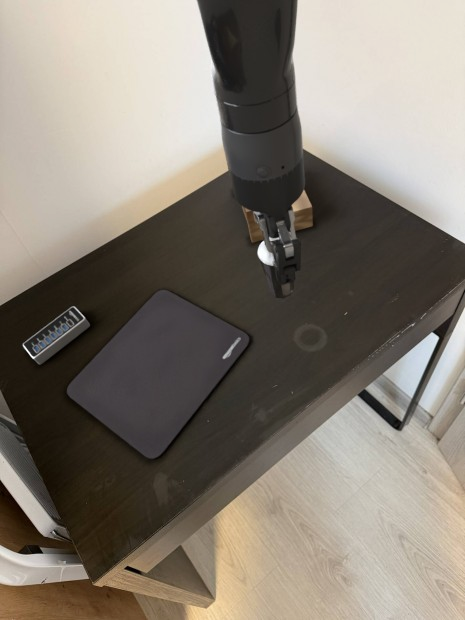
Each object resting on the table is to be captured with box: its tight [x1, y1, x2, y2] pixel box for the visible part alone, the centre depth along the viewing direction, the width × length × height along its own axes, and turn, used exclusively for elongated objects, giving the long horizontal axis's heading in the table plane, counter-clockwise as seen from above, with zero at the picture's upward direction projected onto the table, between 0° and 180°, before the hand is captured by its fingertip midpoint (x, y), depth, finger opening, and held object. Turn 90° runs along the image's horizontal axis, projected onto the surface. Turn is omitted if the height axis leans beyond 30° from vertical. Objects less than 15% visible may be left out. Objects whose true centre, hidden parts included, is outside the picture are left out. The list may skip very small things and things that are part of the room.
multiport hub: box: [22, 305, 91, 365], centre depth 84 cm, size 4×11×2 cm, turn 133°
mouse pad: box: [66, 289, 250, 460], centre depth 78 cm, size 25×21×1 cm
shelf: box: [240, 189, 314, 244], centre depth 92 cm, size 12×16×8 cm
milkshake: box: [257, 237, 295, 300], centre depth 60 cm, size 5×5×10 cm
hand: (280, 264), depth 60 cm, fingers closed on milkshake, 5 cm apart
